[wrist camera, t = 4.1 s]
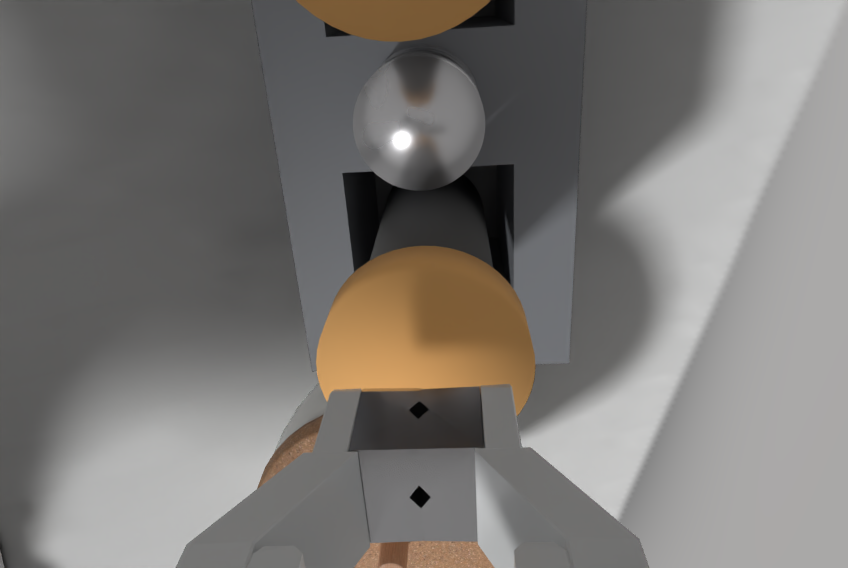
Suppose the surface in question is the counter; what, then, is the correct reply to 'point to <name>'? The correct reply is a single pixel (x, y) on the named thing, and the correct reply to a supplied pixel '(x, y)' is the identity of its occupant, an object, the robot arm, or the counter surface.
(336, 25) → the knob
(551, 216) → the mount
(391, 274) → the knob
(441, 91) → the shiny silver ball
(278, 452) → the lidded jar
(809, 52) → the counter surface
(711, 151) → the counter surface
